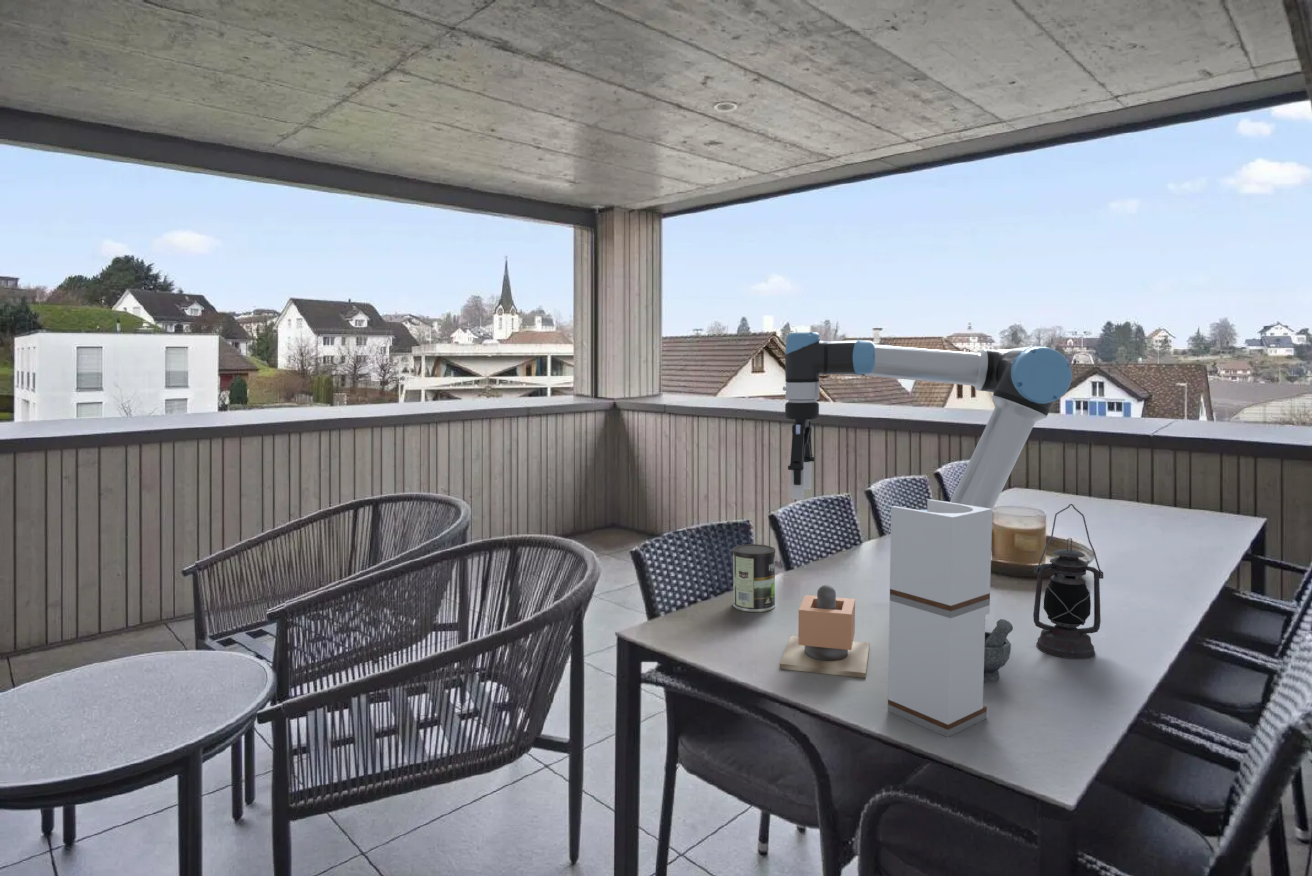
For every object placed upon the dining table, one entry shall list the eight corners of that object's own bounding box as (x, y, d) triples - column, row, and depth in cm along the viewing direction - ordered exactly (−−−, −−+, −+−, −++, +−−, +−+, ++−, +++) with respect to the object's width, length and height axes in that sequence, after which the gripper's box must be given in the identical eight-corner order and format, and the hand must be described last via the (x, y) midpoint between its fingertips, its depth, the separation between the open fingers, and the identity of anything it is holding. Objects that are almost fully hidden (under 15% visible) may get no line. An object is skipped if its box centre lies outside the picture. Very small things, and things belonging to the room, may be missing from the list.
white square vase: (986, 718, 126) (992, 508, 123) (947, 736, 120) (953, 517, 117) (926, 694, 136) (930, 499, 132) (887, 710, 130) (891, 506, 126)
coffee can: (776, 600, 191) (776, 544, 189) (774, 613, 181) (774, 554, 179) (734, 598, 193) (734, 543, 191) (730, 611, 183) (730, 553, 181)
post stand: (869, 647, 158) (870, 577, 157) (865, 678, 143) (866, 600, 142) (791, 640, 163) (791, 571, 162) (779, 668, 148) (779, 593, 147)
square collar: (854, 632, 156) (855, 598, 155) (851, 650, 146) (851, 614, 146) (804, 627, 159) (805, 594, 158) (798, 644, 149) (798, 609, 149)
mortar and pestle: (942, 670, 146) (943, 608, 145) (978, 661, 150) (979, 601, 149) (990, 692, 136) (992, 626, 135) (1027, 682, 140) (1029, 618, 139)
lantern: (1094, 643, 159) (1100, 500, 156) (1105, 662, 149) (1112, 509, 146) (1028, 637, 163) (1033, 497, 160) (1035, 655, 153) (1040, 506, 150)
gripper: (792, 398, 186) (792, 485, 188) (776, 404, 163) (776, 502, 165) (824, 398, 184) (823, 486, 186) (812, 404, 160) (812, 504, 162)
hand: (801, 494), depth 175 cm, fingers open, 13 cm apart
